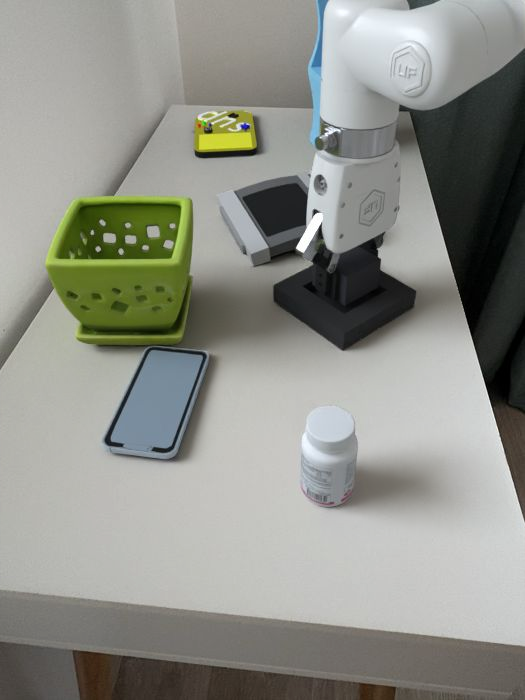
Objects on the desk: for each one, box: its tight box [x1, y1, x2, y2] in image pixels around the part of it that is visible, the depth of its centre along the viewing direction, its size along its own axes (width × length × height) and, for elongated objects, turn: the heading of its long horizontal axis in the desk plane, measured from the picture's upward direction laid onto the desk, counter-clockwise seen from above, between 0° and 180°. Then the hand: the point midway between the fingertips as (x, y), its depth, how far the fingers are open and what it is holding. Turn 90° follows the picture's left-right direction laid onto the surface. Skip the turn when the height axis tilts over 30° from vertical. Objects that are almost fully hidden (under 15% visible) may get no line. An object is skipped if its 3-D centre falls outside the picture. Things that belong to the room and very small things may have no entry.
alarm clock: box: [216, 168, 312, 267], centre depth 89 cm, size 17×5×16 cm
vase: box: [307, 0, 329, 151], centre depth 102 cm, size 10×10×25 cm
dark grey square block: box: [312, 246, 382, 306], centre depth 73 cm, size 6×6×4 cm
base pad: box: [272, 264, 418, 351], centre depth 75 cm, size 12×12×2 cm
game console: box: [193, 109, 258, 159], centre depth 114 cm, size 18×11×2 cm, turn 5°
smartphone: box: [101, 345, 210, 460], centre depth 64 cm, size 7×1×15 cm
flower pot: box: [44, 195, 194, 346], centre depth 70 cm, size 14×14×13 cm
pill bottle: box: [299, 405, 359, 508], centre depth 53 cm, size 5×5×8 cm
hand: (345, 282), depth 74 cm, fingers closed on dark grey square block, 5 cm apart
